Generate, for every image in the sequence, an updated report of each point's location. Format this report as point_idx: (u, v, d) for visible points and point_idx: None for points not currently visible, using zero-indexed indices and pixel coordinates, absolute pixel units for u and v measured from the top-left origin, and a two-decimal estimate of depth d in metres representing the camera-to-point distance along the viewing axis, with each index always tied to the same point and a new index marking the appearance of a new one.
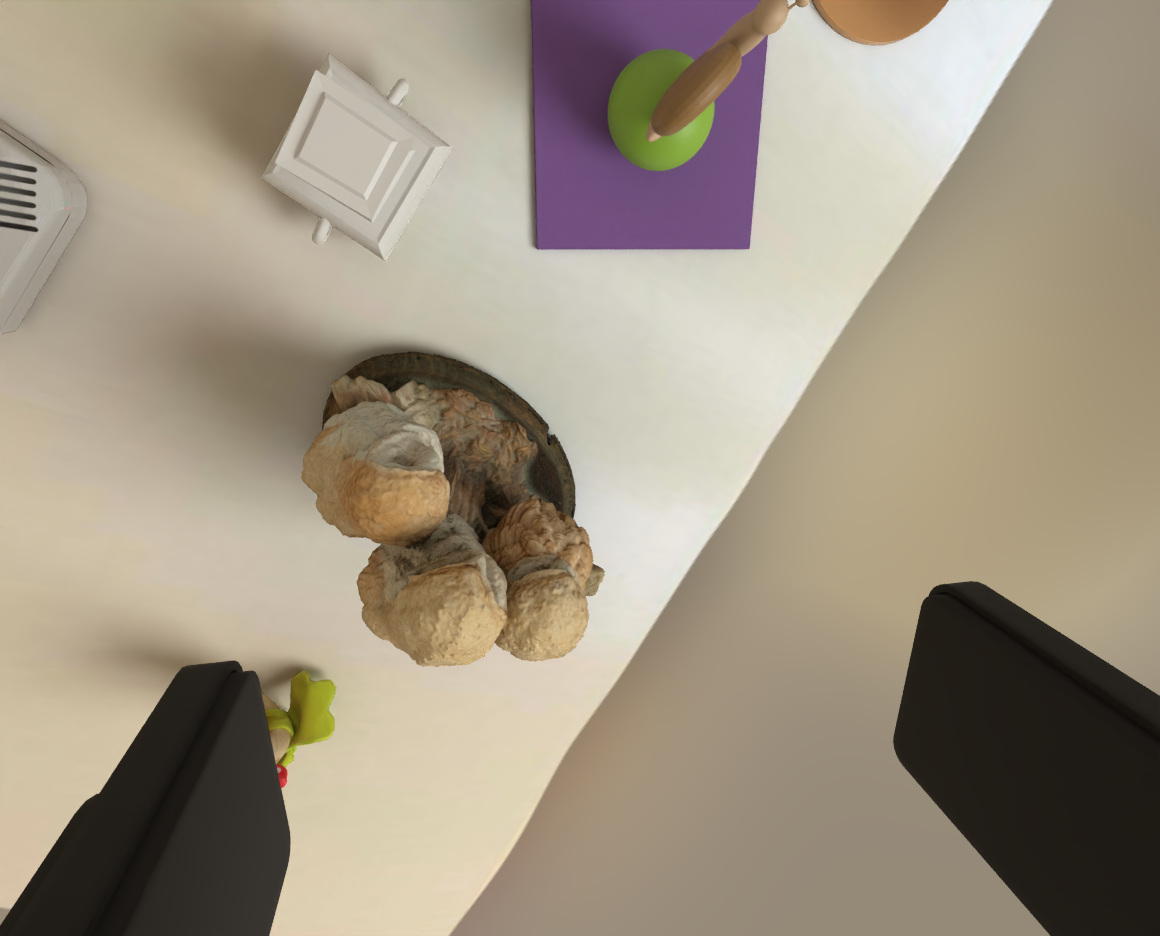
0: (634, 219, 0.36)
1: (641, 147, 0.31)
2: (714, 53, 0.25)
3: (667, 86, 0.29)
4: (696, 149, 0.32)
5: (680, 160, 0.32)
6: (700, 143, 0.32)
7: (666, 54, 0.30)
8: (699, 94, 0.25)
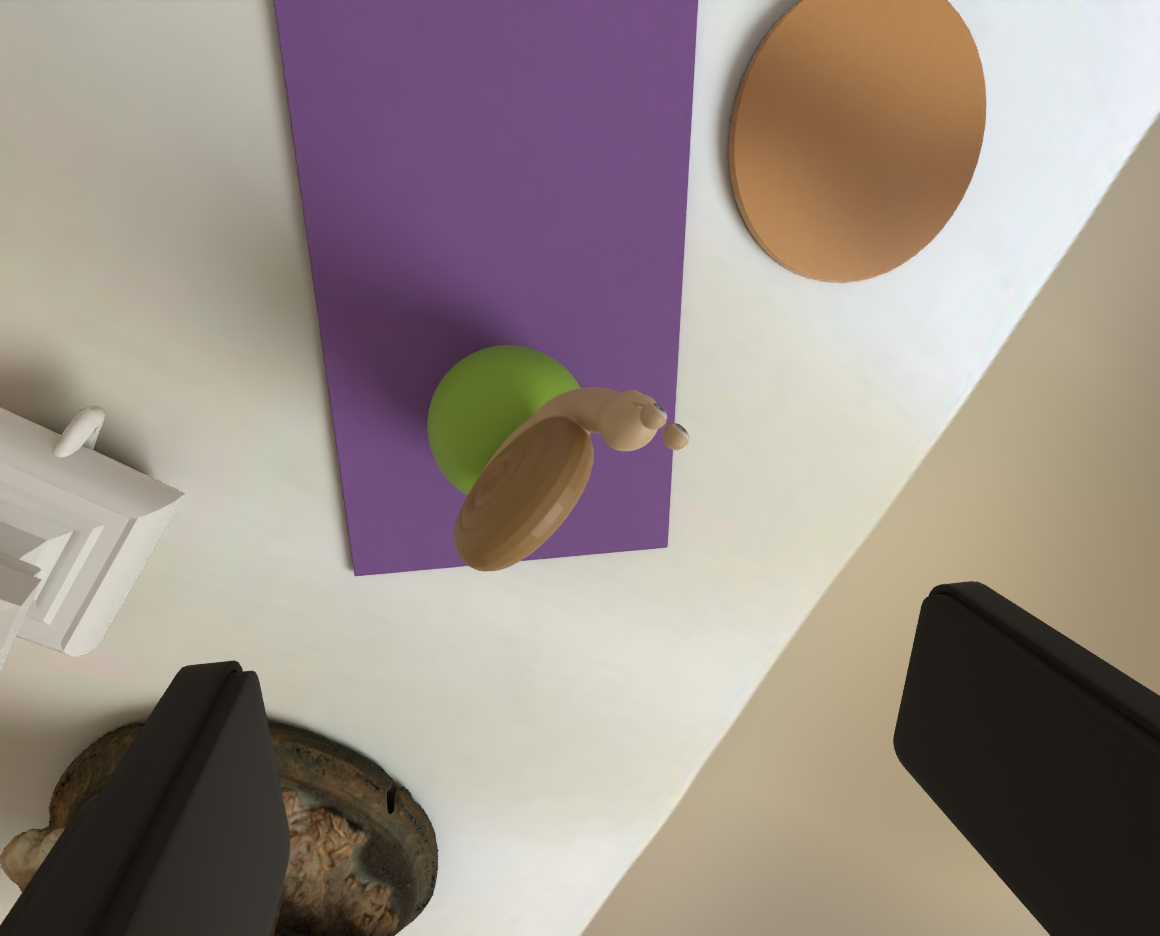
0: None
1: None
2: (535, 475, 0.14)
3: (499, 433, 0.18)
4: None
5: None
6: None
7: (502, 372, 0.19)
8: (507, 551, 0.14)
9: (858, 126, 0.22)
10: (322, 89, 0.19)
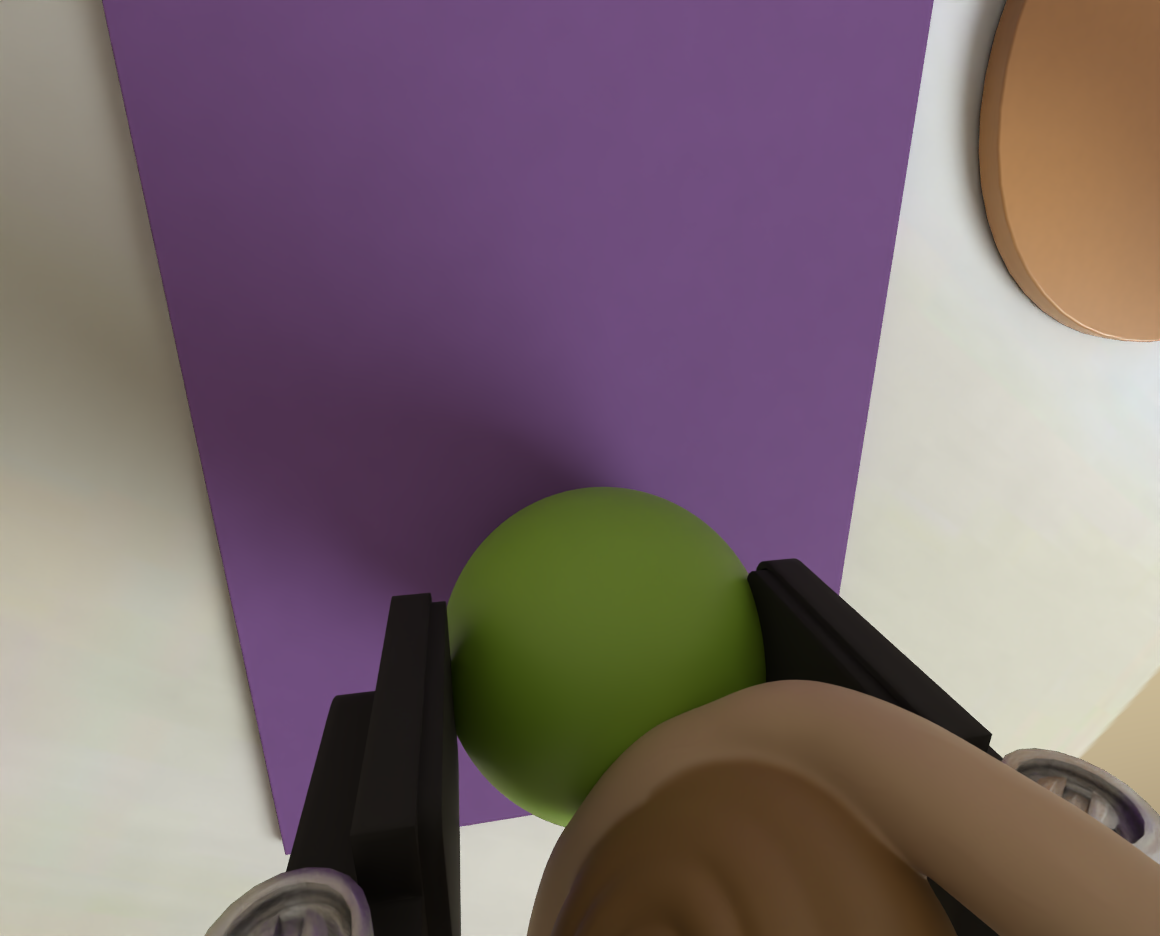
0: None
1: None
2: None
3: (610, 735, 0.08)
4: None
5: None
6: None
7: (611, 580, 0.08)
8: None
9: None
10: None
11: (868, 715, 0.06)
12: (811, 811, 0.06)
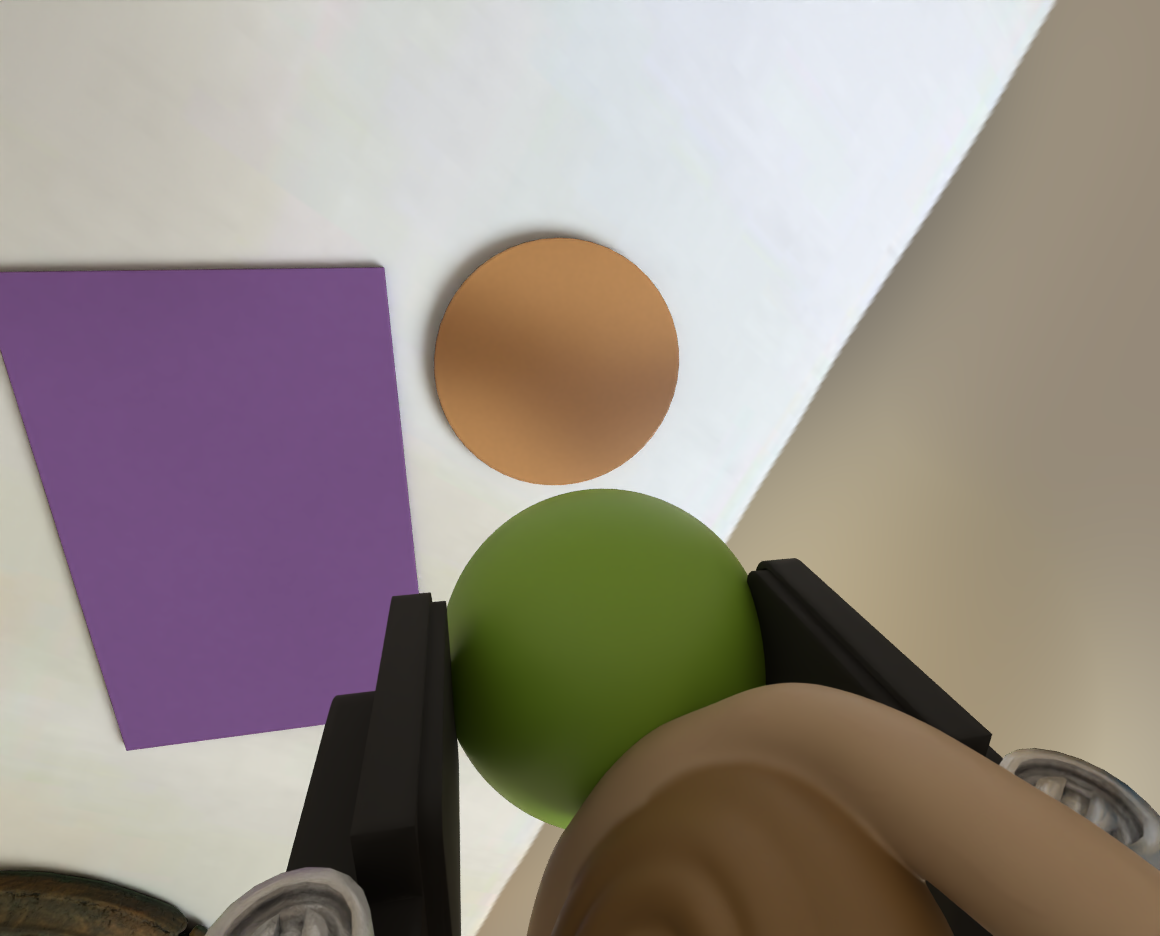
0: (259, 703, 0.28)
1: None
2: None
3: (610, 738, 0.08)
4: None
5: None
6: None
7: (610, 583, 0.08)
8: None
9: (554, 360, 0.25)
10: (39, 365, 0.22)
11: (867, 719, 0.06)
12: (810, 815, 0.06)
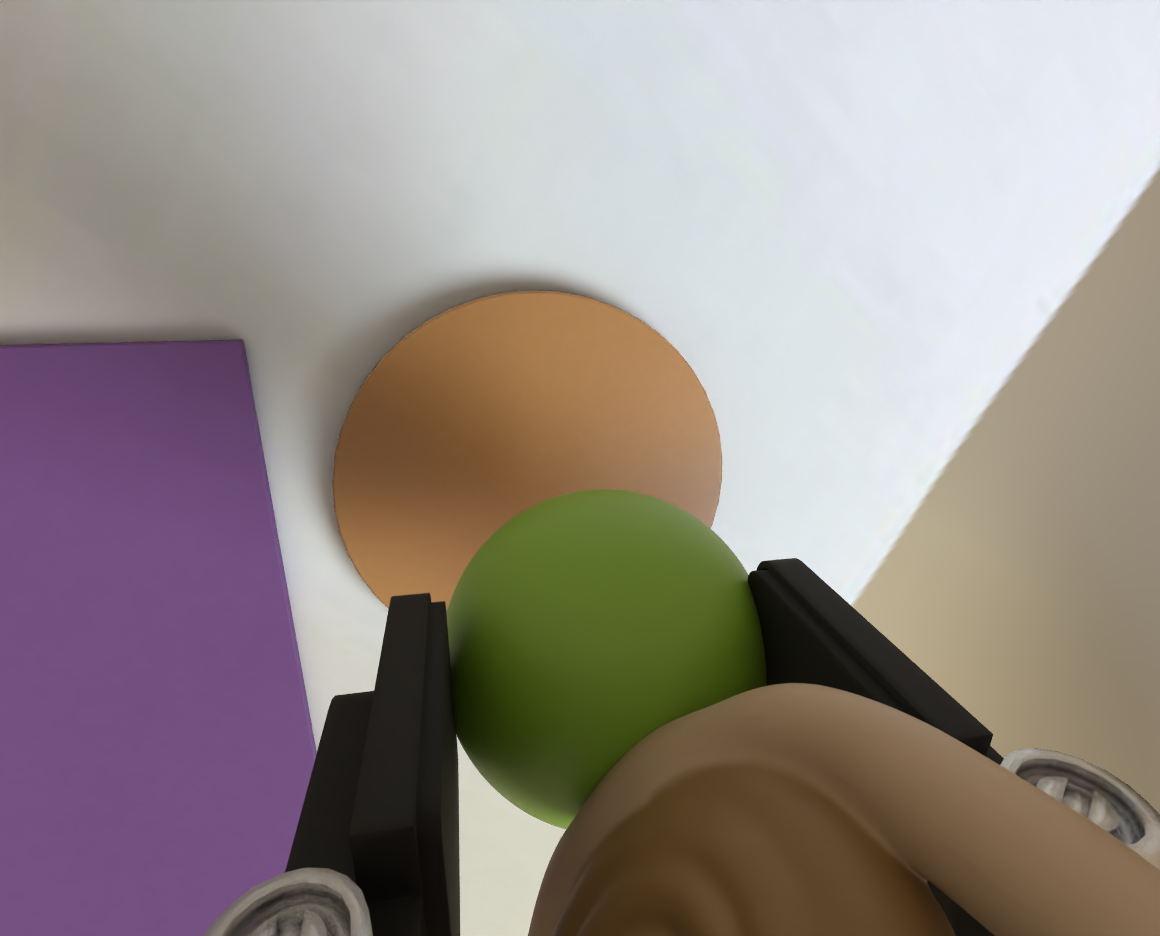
0: None
1: None
2: None
3: (611, 738, 0.08)
4: None
5: None
6: None
7: (611, 583, 0.08)
8: None
9: (528, 479, 0.16)
10: None
11: (869, 719, 0.06)
12: (811, 815, 0.06)
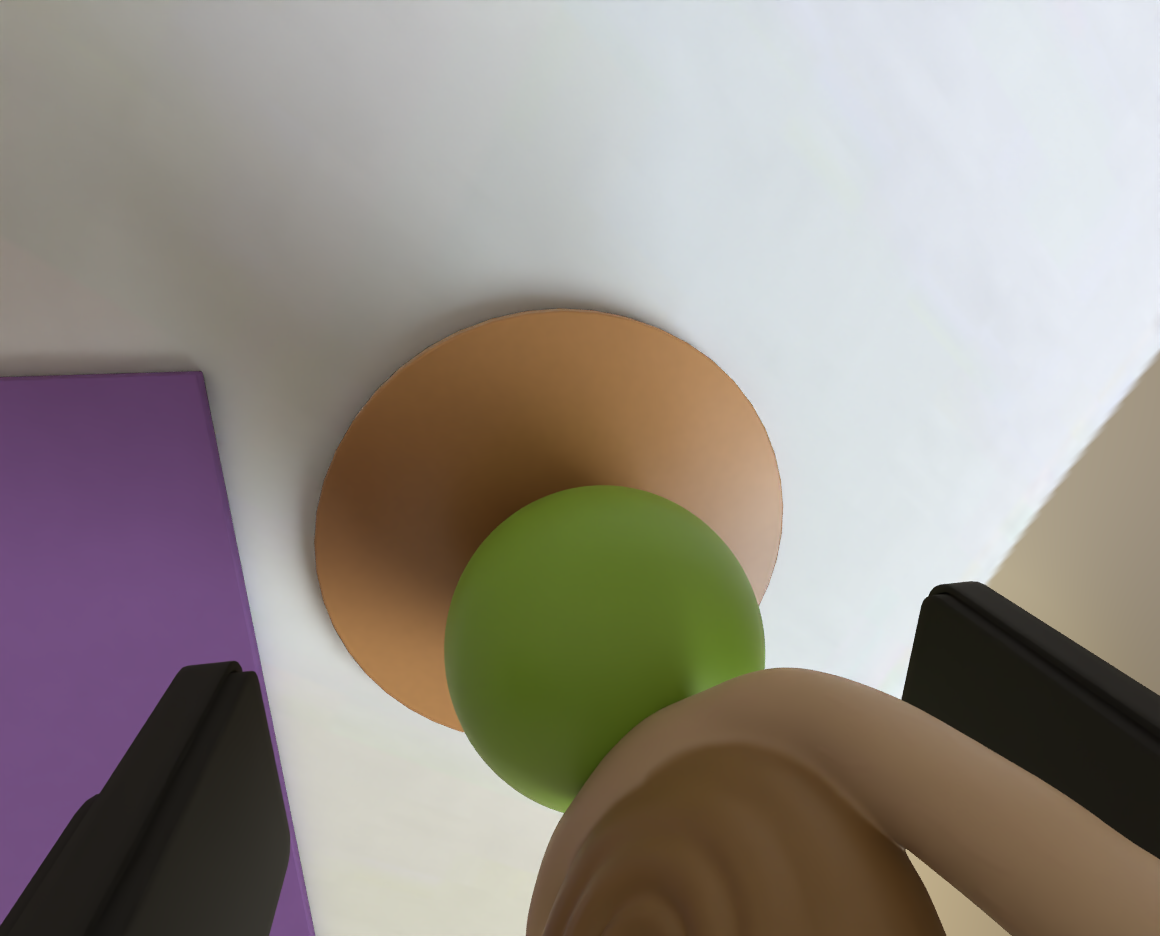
0: None
1: None
2: None
3: (608, 722, 0.08)
4: None
5: None
6: None
7: (609, 574, 0.09)
8: None
9: None
10: None
11: (851, 699, 0.06)
12: (797, 789, 0.06)
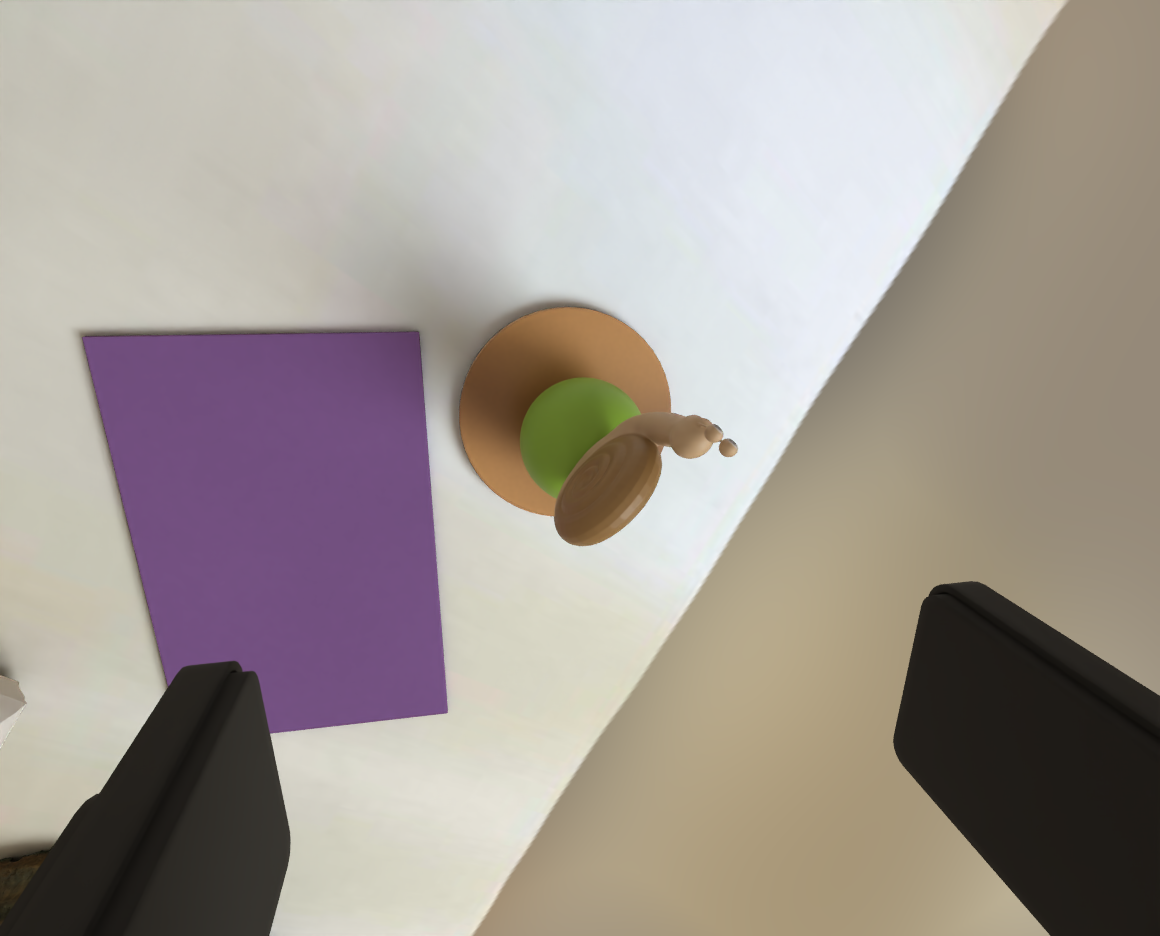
0: (298, 704, 0.32)
1: (556, 495, 0.26)
2: (623, 475, 0.20)
3: (582, 445, 0.24)
4: None
5: None
6: None
7: (583, 399, 0.25)
8: (602, 529, 0.20)
9: None
10: (128, 413, 0.26)
11: (647, 413, 0.22)
12: (631, 436, 0.22)
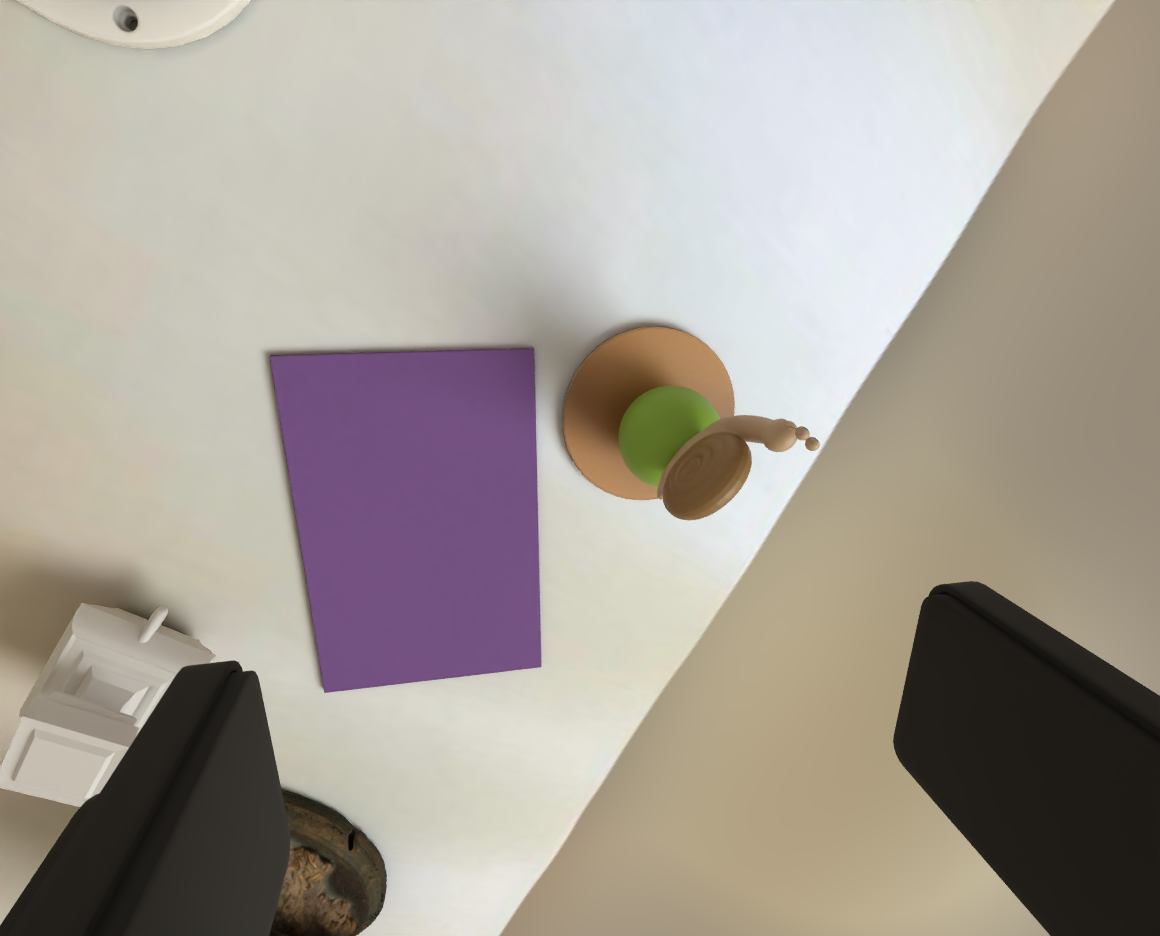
0: (420, 659, 0.38)
1: (651, 481, 0.32)
2: (725, 465, 0.26)
3: (678, 441, 0.30)
4: None
5: None
6: None
7: (677, 404, 0.31)
8: (710, 506, 0.26)
9: None
10: (301, 417, 0.32)
11: (736, 416, 0.28)
12: (724, 434, 0.28)
